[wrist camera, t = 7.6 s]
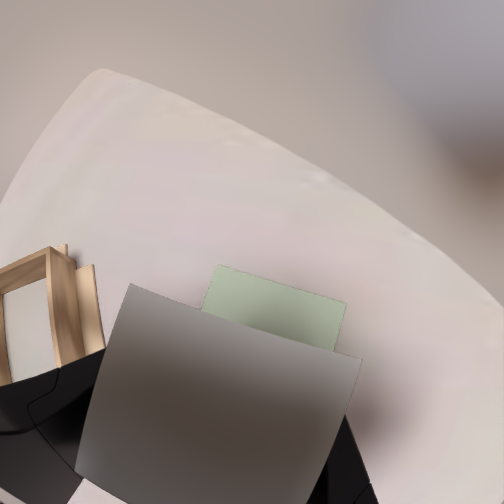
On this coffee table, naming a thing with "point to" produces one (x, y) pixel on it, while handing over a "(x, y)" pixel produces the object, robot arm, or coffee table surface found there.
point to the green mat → (274, 308)
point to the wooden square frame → (57, 304)
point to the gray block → (209, 409)
